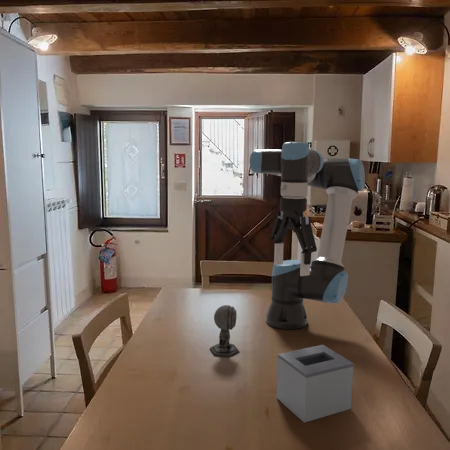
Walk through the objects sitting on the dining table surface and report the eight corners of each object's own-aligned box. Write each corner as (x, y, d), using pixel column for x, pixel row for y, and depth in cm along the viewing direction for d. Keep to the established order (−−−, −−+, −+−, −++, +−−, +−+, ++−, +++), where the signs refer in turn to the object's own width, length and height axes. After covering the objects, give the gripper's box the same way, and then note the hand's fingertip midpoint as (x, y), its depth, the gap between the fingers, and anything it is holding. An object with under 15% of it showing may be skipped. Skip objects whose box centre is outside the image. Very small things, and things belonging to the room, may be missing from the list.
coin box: (320, 386, 124) (322, 344, 122) (350, 408, 113) (353, 363, 111) (276, 397, 118) (278, 354, 116) (304, 422, 107) (306, 374, 105)
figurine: (237, 358, 140) (238, 311, 138) (206, 355, 142) (206, 309, 140) (242, 346, 149) (242, 302, 146) (212, 344, 151) (212, 300, 148)
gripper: (260, 193, 140) (258, 261, 143) (309, 202, 118) (305, 282, 121) (280, 193, 143) (278, 259, 146) (332, 201, 121) (328, 278, 124)
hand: (291, 269), depth 134 cm, fingers open, 13 cm apart
